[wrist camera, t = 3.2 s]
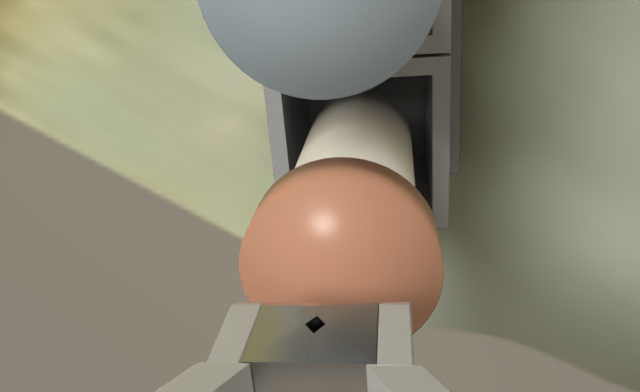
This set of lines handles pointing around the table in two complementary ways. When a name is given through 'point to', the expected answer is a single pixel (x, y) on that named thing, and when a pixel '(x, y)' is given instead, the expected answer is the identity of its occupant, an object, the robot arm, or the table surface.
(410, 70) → the socket board
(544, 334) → the table surface
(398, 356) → the robot arm
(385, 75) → the slate plug
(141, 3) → the table surface
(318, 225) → the terracotta plug
